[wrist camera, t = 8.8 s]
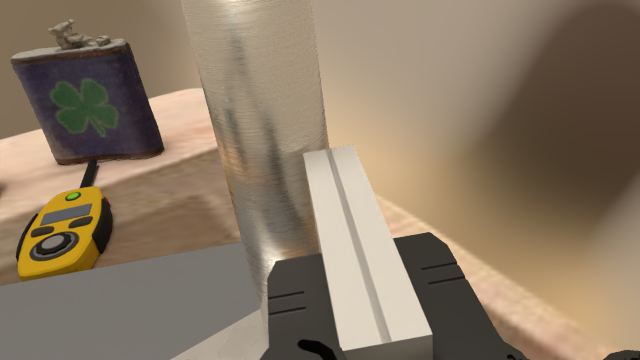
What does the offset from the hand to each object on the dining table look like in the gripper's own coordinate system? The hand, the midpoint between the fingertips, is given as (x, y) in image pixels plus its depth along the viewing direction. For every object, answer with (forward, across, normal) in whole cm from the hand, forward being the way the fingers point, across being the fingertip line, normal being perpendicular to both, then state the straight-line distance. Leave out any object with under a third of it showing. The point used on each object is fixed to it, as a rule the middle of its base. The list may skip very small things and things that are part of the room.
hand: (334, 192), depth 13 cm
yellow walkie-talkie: (+17, -16, -9) cm, 25 cm away
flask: (+26, -16, -9) cm, 32 cm away
